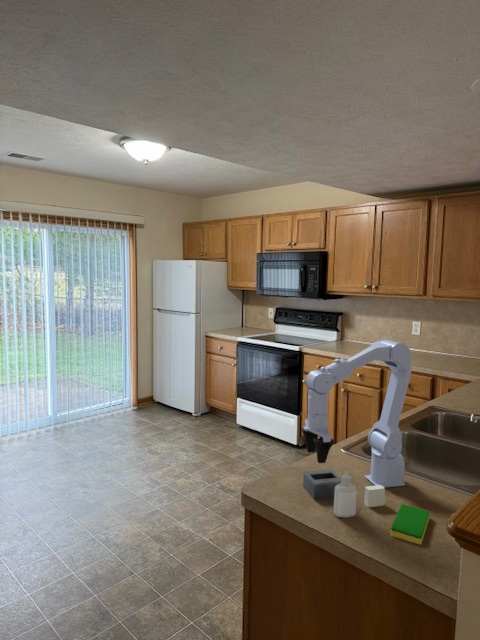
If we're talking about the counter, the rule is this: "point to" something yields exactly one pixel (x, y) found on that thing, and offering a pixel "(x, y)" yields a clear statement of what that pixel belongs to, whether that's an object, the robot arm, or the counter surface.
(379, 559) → the counter surface
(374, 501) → the block
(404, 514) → the dish sponge
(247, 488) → the counter surface
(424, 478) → the counter surface
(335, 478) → the slot box
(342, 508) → the eye dropper bottle
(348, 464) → the counter surface
